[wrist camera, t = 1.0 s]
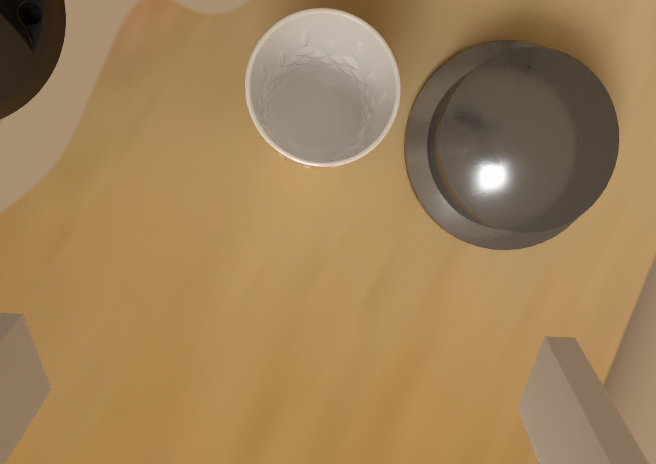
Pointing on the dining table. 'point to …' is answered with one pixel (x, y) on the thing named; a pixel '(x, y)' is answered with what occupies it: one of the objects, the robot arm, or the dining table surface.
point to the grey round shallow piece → (510, 144)
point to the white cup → (322, 87)
